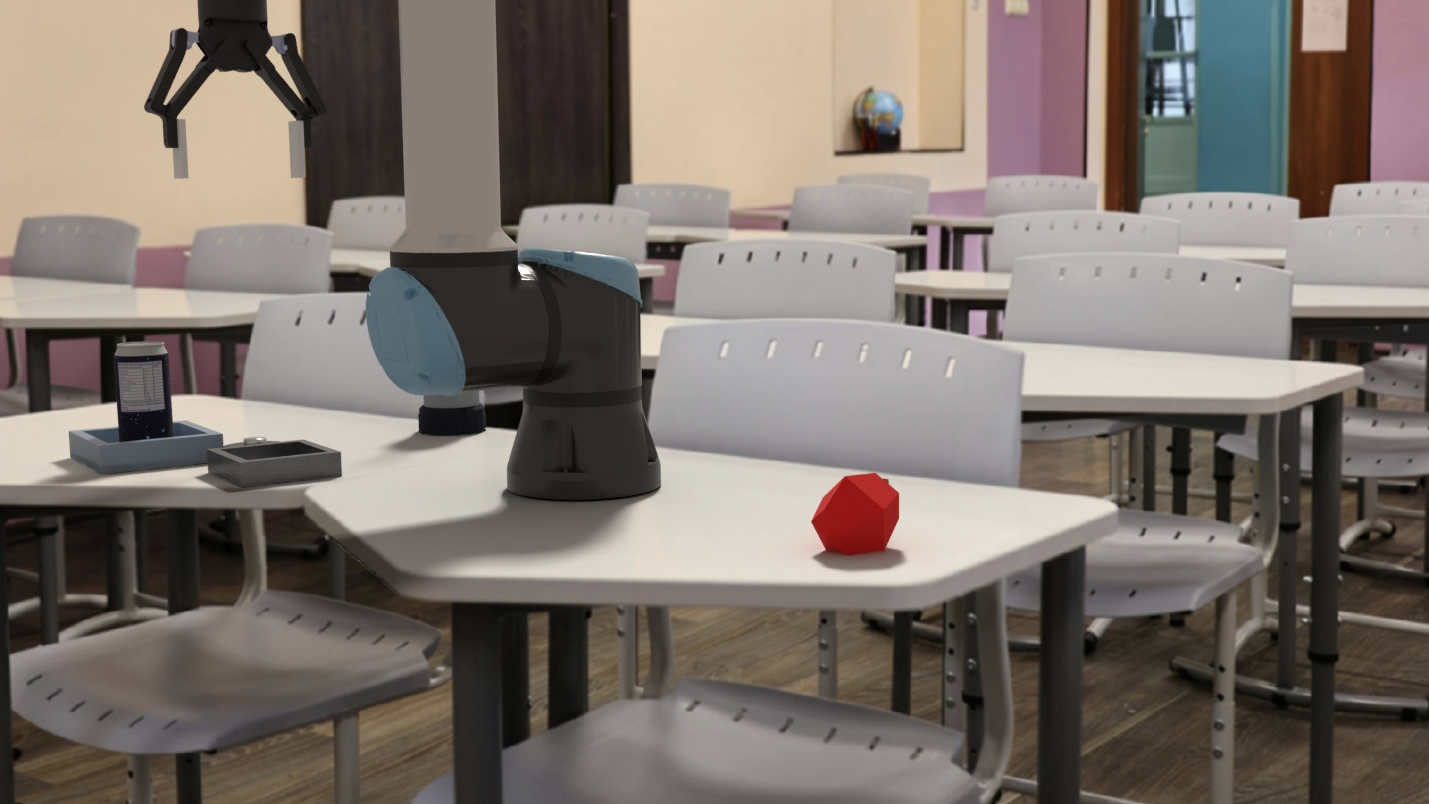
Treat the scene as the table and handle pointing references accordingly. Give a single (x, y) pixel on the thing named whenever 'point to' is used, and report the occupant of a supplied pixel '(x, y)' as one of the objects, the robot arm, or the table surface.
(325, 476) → the grey flat rectangular frame
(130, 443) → the tray
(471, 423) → the humidifier
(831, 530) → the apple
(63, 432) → the table surface
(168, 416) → the beverage can
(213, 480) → the table surface
